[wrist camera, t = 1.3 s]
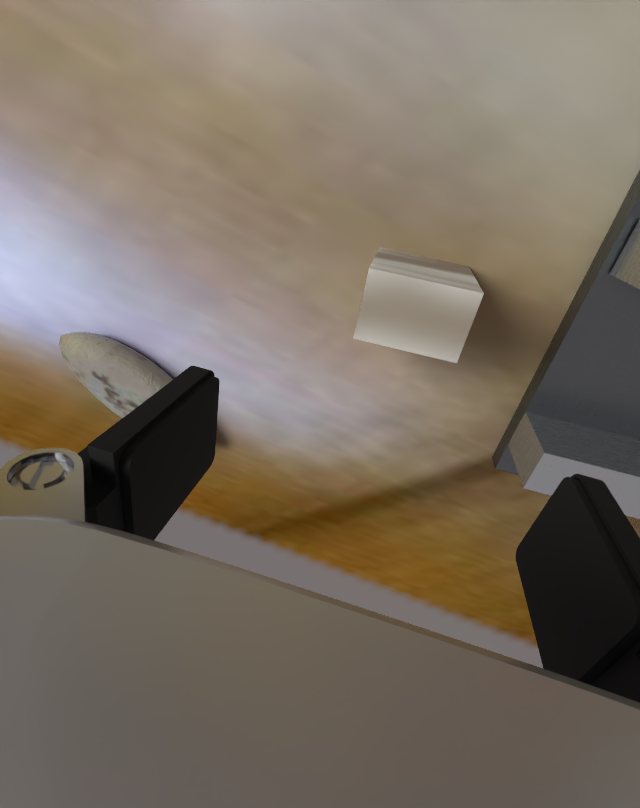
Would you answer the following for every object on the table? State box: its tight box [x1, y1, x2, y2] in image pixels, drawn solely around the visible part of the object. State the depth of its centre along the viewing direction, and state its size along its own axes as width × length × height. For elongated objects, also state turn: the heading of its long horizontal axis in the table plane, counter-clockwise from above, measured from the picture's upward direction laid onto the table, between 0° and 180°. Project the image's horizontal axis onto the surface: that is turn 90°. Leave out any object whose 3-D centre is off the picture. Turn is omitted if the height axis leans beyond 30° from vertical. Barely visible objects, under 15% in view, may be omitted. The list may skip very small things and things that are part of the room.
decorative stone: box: [59, 332, 173, 418], centre depth 35 cm, size 6×16×3 cm, turn 53°
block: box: [353, 248, 484, 363], centre depth 24 cm, size 4×6×7 cm, turn 80°
